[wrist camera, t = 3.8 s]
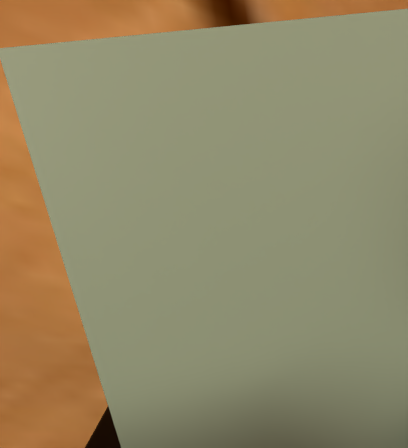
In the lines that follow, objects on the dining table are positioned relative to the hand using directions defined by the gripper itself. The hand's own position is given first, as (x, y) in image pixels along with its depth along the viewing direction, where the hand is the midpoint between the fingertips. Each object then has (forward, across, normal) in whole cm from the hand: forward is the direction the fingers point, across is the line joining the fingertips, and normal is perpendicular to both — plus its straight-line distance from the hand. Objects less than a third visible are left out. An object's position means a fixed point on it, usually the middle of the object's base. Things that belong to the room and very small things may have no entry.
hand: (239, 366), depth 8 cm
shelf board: (+1, 0, 0) cm, 1 cm away
